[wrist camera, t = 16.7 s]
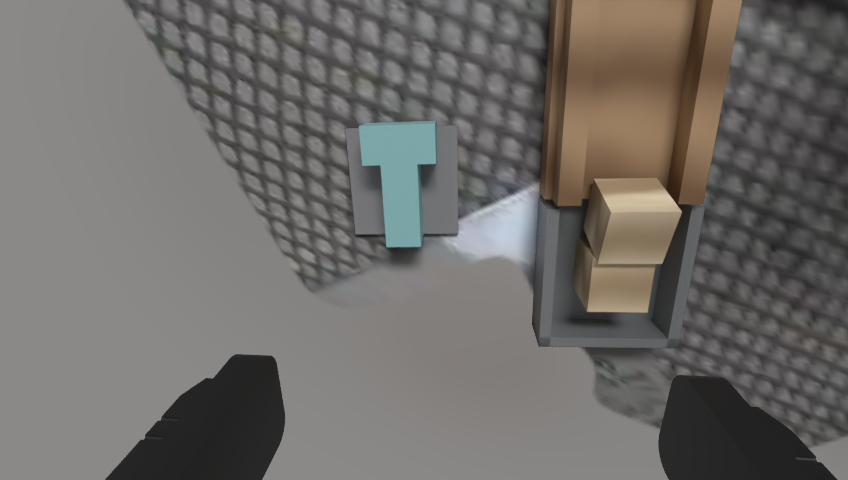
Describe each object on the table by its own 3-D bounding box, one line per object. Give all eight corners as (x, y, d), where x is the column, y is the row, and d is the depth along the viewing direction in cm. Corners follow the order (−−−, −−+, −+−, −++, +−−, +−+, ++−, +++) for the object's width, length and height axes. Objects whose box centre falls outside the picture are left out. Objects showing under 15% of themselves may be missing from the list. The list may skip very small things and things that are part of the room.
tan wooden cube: (593, 178, 28) (611, 212, 25) (656, 177, 28) (682, 211, 25) (583, 227, 30) (597, 263, 27) (640, 227, 30) (662, 263, 27)
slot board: (555, -84, 25) (570, -112, 22) (731, -97, 25) (777, -128, 21) (539, 192, 31) (549, 206, 28) (681, 190, 30) (711, 203, 27)
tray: (539, 197, 31) (547, 209, 28) (680, 195, 30) (705, 207, 27) (532, 324, 35) (538, 346, 32) (658, 325, 34) (677, 348, 31)
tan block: (577, 237, 32) (593, 258, 28) (632, 237, 31) (656, 258, 27) (572, 286, 33) (587, 311, 29) (625, 286, 33) (647, 312, 29)
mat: (346, 128, 31) (345, 128, 30) (457, 125, 30) (457, 125, 30) (356, 232, 33) (355, 234, 33) (458, 231, 33) (458, 233, 32)
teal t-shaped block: (358, 126, 28) (369, 247, 31) (434, 123, 27) (438, 246, 30) (366, 123, 30) (375, 236, 33) (436, 120, 30) (439, 235, 32)
